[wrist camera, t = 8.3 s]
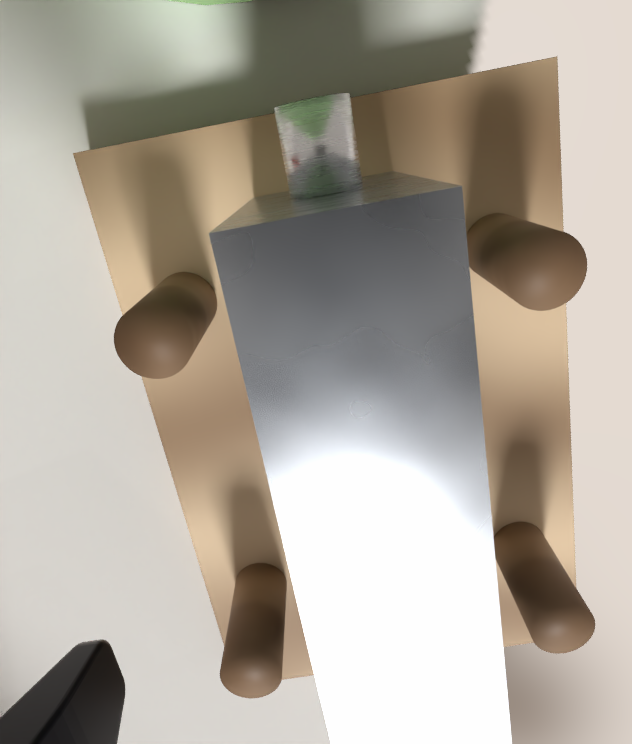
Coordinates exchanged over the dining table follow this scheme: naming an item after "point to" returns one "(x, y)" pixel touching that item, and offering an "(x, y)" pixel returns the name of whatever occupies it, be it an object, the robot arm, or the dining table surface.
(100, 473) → the dining table surface
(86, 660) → the robot arm
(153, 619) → the dining table surface
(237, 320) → the gray rectangular plank
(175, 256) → the tool rest
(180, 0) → the mug
